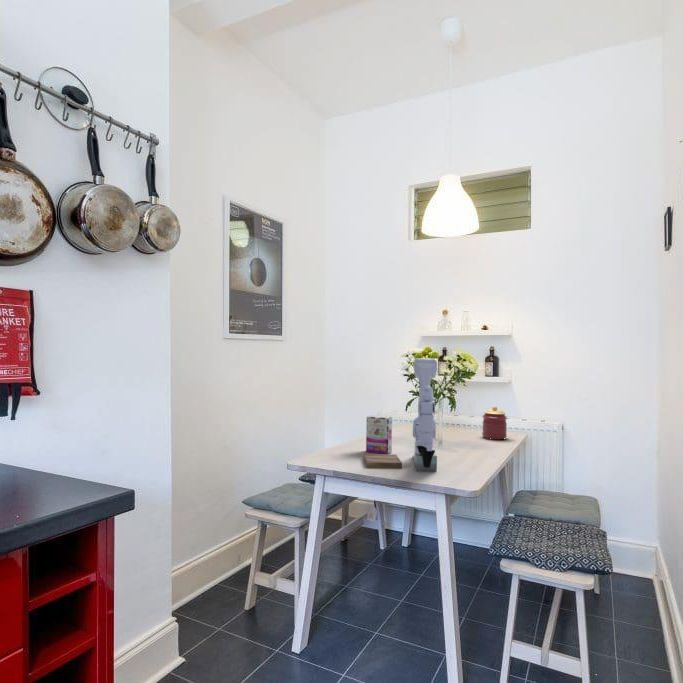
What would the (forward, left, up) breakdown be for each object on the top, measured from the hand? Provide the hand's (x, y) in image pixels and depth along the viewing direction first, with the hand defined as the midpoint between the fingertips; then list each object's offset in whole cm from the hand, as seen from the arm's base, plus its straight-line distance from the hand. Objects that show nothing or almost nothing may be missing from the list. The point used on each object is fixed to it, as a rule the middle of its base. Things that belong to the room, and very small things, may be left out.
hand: (425, 465), depth 194 cm
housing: (0, 0, -2) cm, 2 cm away
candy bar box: (-32, -15, -2) cm, 35 cm away
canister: (-74, +54, -2) cm, 92 cm away
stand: (-10, -16, -2) cm, 19 cm away
